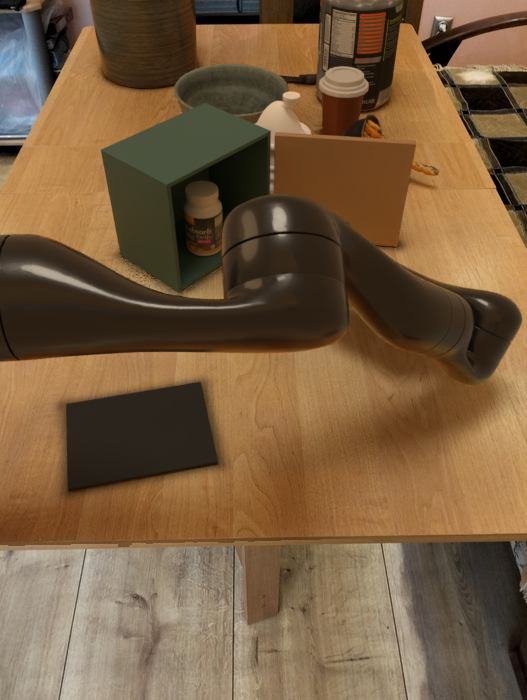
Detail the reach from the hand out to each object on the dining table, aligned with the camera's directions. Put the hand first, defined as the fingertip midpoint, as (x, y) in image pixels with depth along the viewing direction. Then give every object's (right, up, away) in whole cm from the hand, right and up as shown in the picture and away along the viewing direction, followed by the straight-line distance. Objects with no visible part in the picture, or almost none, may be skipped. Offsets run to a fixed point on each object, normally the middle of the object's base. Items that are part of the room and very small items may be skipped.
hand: (257, 223), depth 86 cm
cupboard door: (+12, +2, +15) cm, 19 cm away
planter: (-25, +47, +60) cm, 80 cm away
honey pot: (+3, +8, +22) cm, 24 cm away
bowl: (-5, +24, +37) cm, 45 cm away
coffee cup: (+15, +24, +38) cm, 47 cm away
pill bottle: (-8, -1, +11) cm, 14 cm away
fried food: (+22, +15, +29) cm, 39 cm away
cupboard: (-9, -1, +13) cm, 16 cm away
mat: (-13, -27, -13) cm, 32 cm away
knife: (+3, +43, +57) cm, 71 cm away
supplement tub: (+20, +36, +50) cm, 65 cm away
